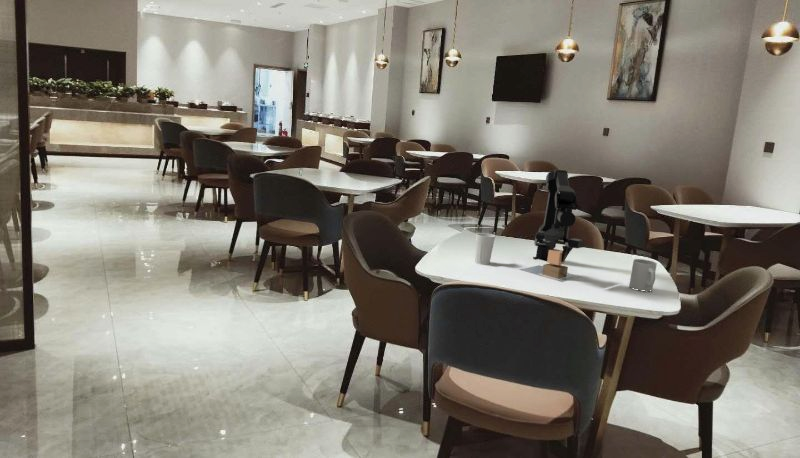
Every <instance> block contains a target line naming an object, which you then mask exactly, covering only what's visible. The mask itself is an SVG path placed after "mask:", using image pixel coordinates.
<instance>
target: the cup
mask: <svg viewBox="0 0 800 458" xmlns="http://www.w3.org/2000/svg"><path fill="white" fill-rule="evenodd" d="M495 238H496V235H495V234H491V233H488V232H487V233H486V232H477V233H476V234H475V257H474V263H476V264H477V265H484V266H488V265H490V264H491V257H492V252H493V249H494V243H495V241H496V240H495Z"/></svg>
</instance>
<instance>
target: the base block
mask: <svg viewBox="0 0 800 458" xmlns="http://www.w3.org/2000/svg"><path fill="white" fill-rule="evenodd" d="M542 266H543V271H542V275H546V276H549V277H553V278H556V279H559V278H563V277H567V273H568V271H569V269H568V268H569V266H565V265H564V264H562V265H555V264H551V263H546V264H542Z"/></svg>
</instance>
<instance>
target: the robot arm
mask: <svg viewBox="0 0 800 458" xmlns="http://www.w3.org/2000/svg"><path fill="white" fill-rule="evenodd" d="M545 185H546V188H547V190H548V194H547V195H548V196H547V200H546V201H547V202H546V208H545V212H544V213H545V214H544V219H543V223H542V224H541V225H540V227H539V228H538V231H537V232H536V233H535V238H534V245H535V247H536V256H533V257H532V259H535V260H541V261H544V262H547V259H548V252H549V250H552V249H556V246H557V243H558V242H559V243H563V244H565V245H562V246H561V247H562V251H563V253H562V259H561V262H564V260H565V261H566V259H567V257H568V255H569V254H570V253H571V252H572V250H573V249H581V248H584V246H585V241H584V240H583V239H580V238H570V235H569V229H571V227H572V226H573V225H574V224H575V222H576V216H575V214H574V213H573V210H574V211H576V210H577V208H578V206H579V205H578V197H577V195H576V192H575V190H574V189H573V188H572V187H570V184H569V173H568V170H564V169H555V170H553V171H550V172H548V173H547V174H546V178H545ZM569 238H570V239H569Z"/></svg>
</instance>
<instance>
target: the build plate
mask: <svg viewBox="0 0 800 458" xmlns="http://www.w3.org/2000/svg"><path fill="white" fill-rule="evenodd" d="M518 270H519V271H522V272H524V273H525V272H526V273H529V274H533V275H537V276H539V277H543V278H547V279H551V280H554V281H557V282H561V283H564V282H568V281H572V280H576V279H579V278H582V276H580V275H577V274H573V273H570V272H567V277H563V278H559V279H556V278H553V277H549V276H546V275H542V271H543V265H540V264H539V265H533V266H530V267H525V268H520V269H518Z"/></svg>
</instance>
